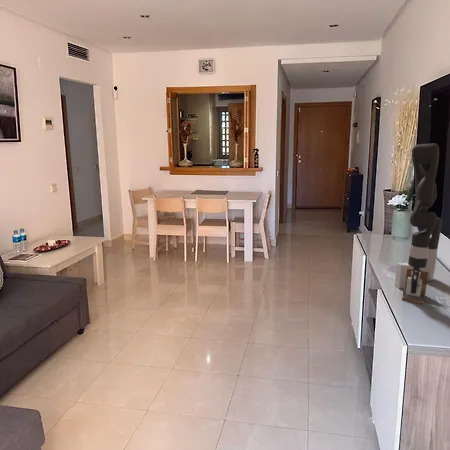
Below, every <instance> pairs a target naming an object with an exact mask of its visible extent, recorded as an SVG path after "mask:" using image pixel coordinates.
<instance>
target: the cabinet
mask: <svg viewBox="0 0 450 450" xmlns="http://www.w3.org/2000/svg"><path fill="white" fill-rule="evenodd" d="M411 270H412V268H407V273H406V281H405V288H403V291H402V297H401V300H402V301H404V300H407V301H406V302H410V301H412V302H411V303H415V302H417V303H416V304H420V303H422V304H421V305H424V303H425V298H426V290H427V283H428V281H427V278H428V271H425V270H421V275H420V279H422V287H421V294H420V297H417V296H412V295H407V294H406V287H407V279H408V277H411Z"/></svg>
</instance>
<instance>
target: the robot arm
mask: <svg viewBox="0 0 450 450" xmlns="http://www.w3.org/2000/svg"><path fill="white" fill-rule="evenodd" d="M411 159H412V166H413V171H414V183H415V185H414V189H415V190H414V191H415V200H414V201H415V202H414V207H413V210H412V212H411V215H410V218H409V223H410V225H411V226H412V227H413V228H416V229H417V231H415V232H413V233H412V236H411V243H410V247H409V253H408V254H409V255H408V259H407V260H408V261H407V263H408V264H409V265H410V266H413V268H412V270H411V280H412V281H411V293H414V294H415V293H416V289H417V285H418V284H417V283H418V281H419V279H420V275H421V270H425V271H428V278H427V282H432V281H434V277H435V276H434V275H435V269H436V263H437V262H436V261H437V257H438V256H437V255H438V249H439V242H440V236H441V231H442V227H443V226H442V225H443V221H442V220H443V219H442V218H441V217H437V214H436V213H435V212H433V211H428V209H430V208H431V207H432V206H433V205H434V203H435V201H436V199H437V196H438V194H437V193H438V192H437V188H438V187H437V184H436V177H437V173H438V172H437V171H438V166H439V159H440V146H439V145H438V144H437V143H421V144H419V143H418V144H414V145H413V146H412V148H411ZM423 165H429V168H428V170H427V172H426V170H425V169H424V167H423ZM413 282H416V283H413Z"/></svg>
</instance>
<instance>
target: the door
mask: <svg viewBox="0 0 450 450" xmlns="http://www.w3.org/2000/svg"><path fill="white" fill-rule="evenodd" d="M411 281H412V280H411V277H408V279H407V287H406V294H407V295H412V296H417V297H420V294H421V287H422V279H419V281H418V283H417V284H418V285H417V289H416V293H415V294H414V293H411ZM413 283H416V282H413Z"/></svg>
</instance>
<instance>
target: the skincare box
mask: <svg viewBox="0 0 450 450" xmlns="http://www.w3.org/2000/svg"><path fill="white" fill-rule="evenodd" d="M407 268H414V267H413V266H410V265H409V264H408V262H397V264H396V271H395V272H396V273H395V280H394V281H395V282H394V286H395V287H396V286H397V287H398V289H405V281H406V273H407ZM397 287H396V288H397Z"/></svg>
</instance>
